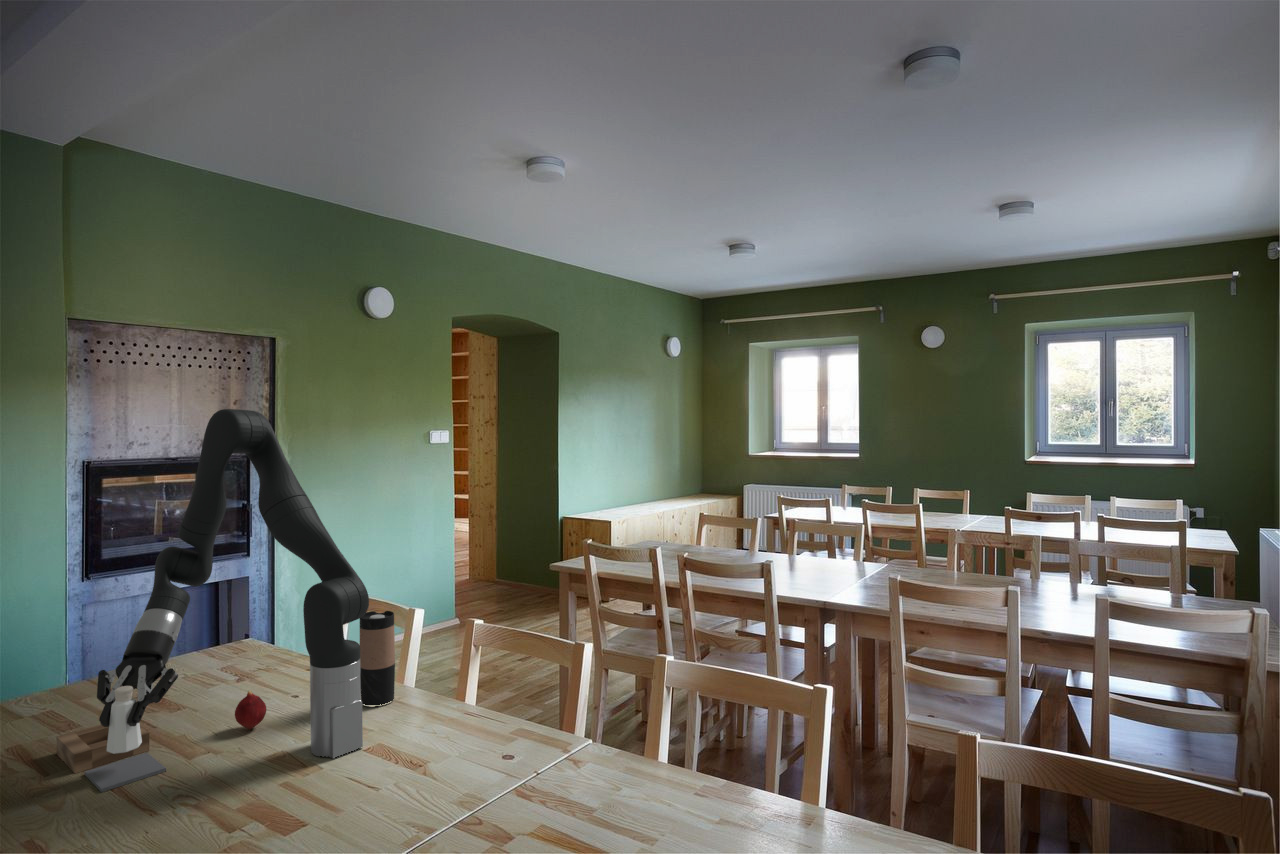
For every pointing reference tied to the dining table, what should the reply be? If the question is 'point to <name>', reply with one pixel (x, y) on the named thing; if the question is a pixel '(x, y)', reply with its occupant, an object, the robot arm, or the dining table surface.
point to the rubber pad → (124, 772)
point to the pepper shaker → (122, 723)
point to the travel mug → (377, 658)
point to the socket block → (92, 748)
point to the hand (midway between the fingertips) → (118, 724)
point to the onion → (250, 711)
